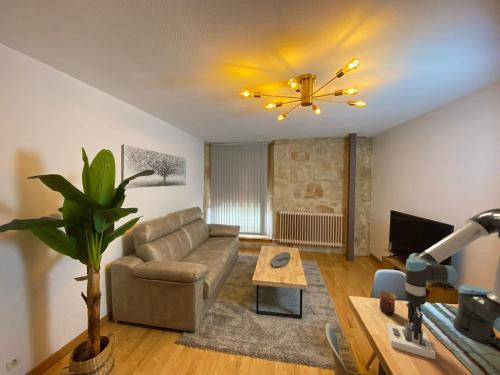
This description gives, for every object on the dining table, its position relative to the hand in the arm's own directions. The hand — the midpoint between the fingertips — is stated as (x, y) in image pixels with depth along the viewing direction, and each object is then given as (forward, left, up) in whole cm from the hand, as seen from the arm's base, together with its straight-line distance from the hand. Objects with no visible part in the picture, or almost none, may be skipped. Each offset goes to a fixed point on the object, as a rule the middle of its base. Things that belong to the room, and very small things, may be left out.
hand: (413, 341), depth 99 cm
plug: (0, 0, 0) cm, 1 cm away
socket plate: (+2, 0, -1) cm, 2 cm away
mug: (+7, -22, -2) cm, 23 cm away
